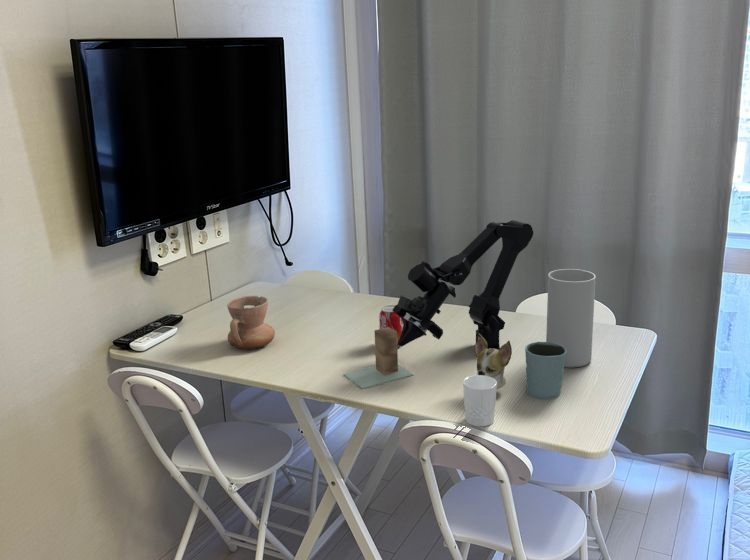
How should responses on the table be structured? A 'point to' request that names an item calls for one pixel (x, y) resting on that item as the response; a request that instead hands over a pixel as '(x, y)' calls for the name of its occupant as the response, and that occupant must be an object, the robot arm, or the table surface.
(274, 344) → the table surface
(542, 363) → the teal cup
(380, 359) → the pillar
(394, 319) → the soda can
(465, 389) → the white cup
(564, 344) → the cylinder vase
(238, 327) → the ceramic jug
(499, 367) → the ceramic sculpture
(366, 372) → the mat
